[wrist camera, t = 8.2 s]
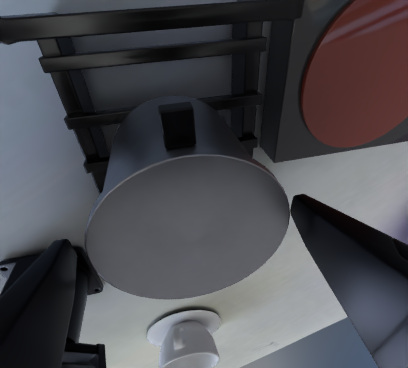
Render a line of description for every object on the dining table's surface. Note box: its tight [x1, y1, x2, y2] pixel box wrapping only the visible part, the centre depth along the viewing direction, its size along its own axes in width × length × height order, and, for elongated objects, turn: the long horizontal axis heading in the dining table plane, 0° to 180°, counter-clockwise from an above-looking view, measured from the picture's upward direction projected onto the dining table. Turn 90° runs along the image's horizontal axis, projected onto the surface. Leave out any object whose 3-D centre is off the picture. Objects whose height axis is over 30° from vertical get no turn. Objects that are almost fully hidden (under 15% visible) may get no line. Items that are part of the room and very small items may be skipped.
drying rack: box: [0, 0, 304, 194], centre depth 14 cm, size 14×10×6 cm
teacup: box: [147, 310, 221, 368], centre depth 31 cm, size 10×10×5 cm
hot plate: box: [300, 0, 408, 148], centre depth 14 cm, size 9×9×1 cm
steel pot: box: [85, 96, 290, 299], centre depth 11 cm, size 9×7×6 cm
